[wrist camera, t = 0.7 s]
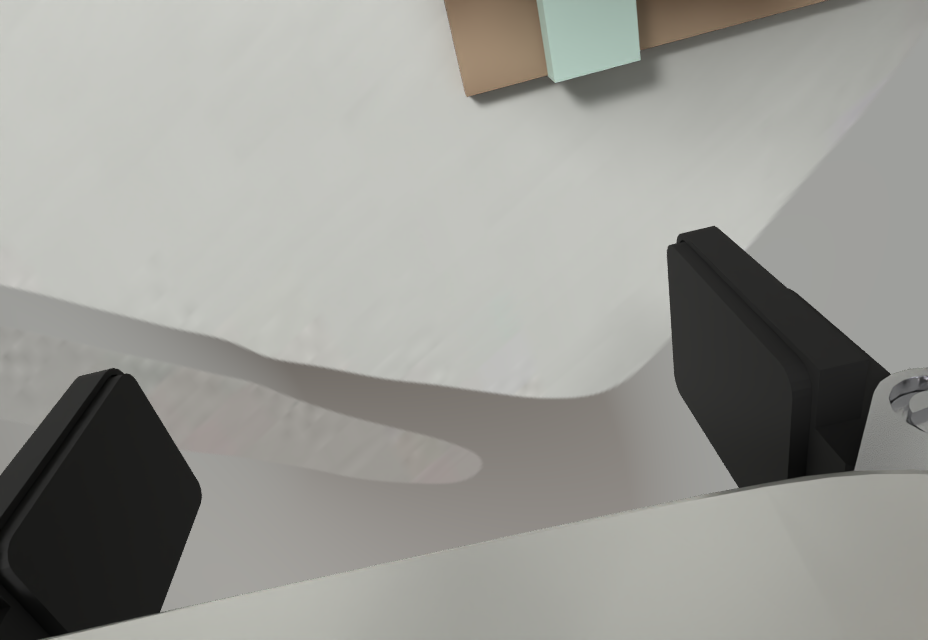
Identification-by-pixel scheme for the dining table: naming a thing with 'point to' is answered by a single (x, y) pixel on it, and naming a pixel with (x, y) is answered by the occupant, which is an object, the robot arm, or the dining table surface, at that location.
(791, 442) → the robot arm
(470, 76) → the board
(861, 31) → the dining table surface
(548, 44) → the link
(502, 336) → the dining table surface
